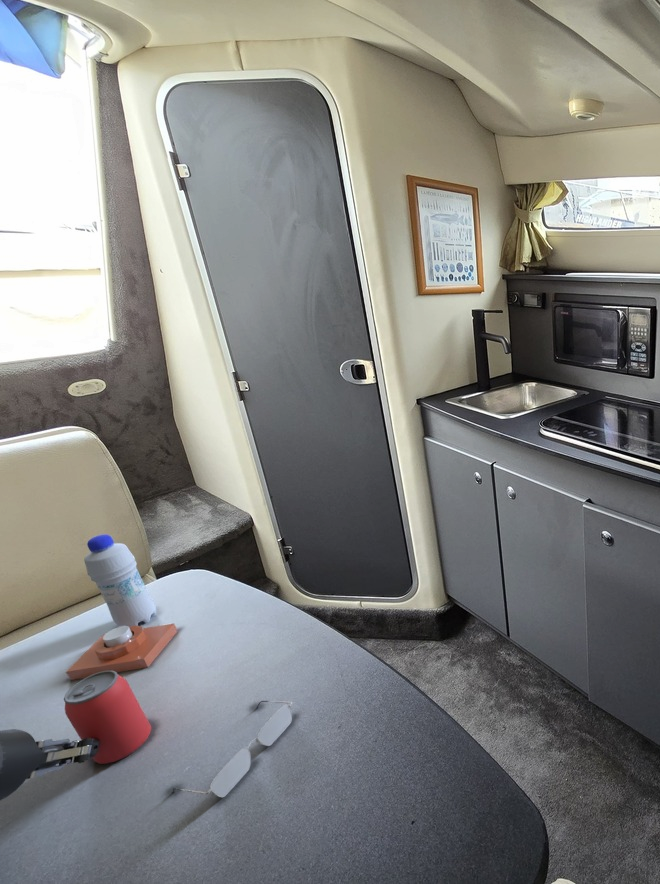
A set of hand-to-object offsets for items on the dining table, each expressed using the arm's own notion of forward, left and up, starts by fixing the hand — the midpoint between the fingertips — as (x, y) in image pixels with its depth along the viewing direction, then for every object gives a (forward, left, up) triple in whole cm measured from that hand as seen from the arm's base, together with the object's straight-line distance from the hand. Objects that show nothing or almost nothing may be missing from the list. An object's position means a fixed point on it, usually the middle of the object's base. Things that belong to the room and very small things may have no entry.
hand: (92, 748), depth 69 cm
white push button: (-12, +24, -1) cm, 27 cm away
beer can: (0, +4, -5) cm, 6 cm away
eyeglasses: (+18, -2, -5) cm, 19 cm away
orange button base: (-12, +24, -4) cm, 27 cm away
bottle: (-16, +34, -5) cm, 38 cm away
